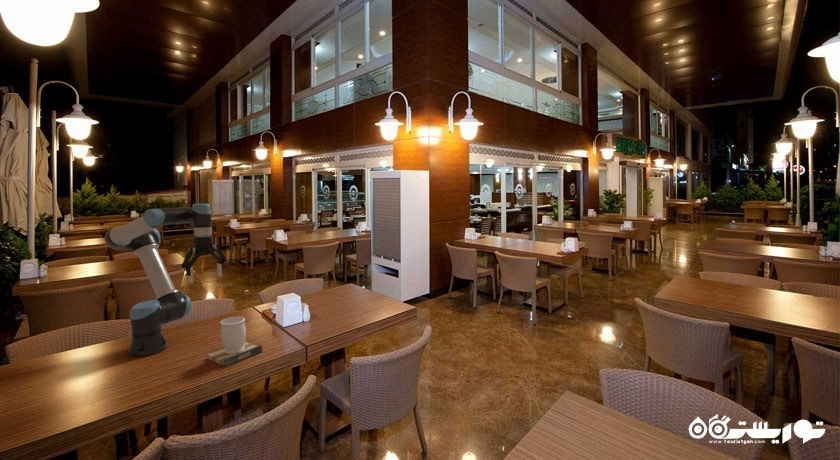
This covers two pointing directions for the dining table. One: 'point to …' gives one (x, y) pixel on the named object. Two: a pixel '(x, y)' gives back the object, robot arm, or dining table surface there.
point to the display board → (230, 359)
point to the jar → (233, 334)
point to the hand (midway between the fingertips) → (205, 279)
